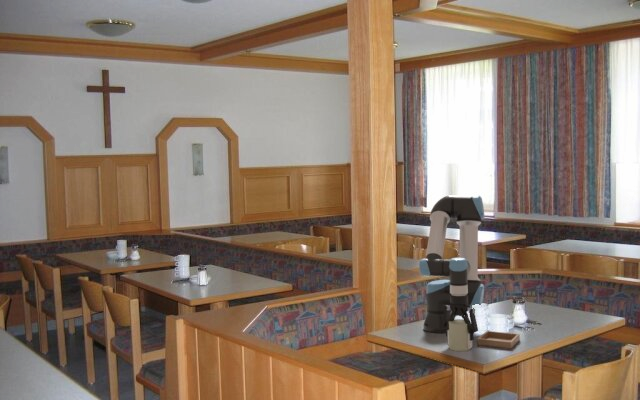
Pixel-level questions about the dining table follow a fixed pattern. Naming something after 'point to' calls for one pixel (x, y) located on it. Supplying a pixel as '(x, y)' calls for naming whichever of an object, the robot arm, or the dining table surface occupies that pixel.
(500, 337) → the brown square tray
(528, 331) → the dining table surface
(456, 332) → the can
